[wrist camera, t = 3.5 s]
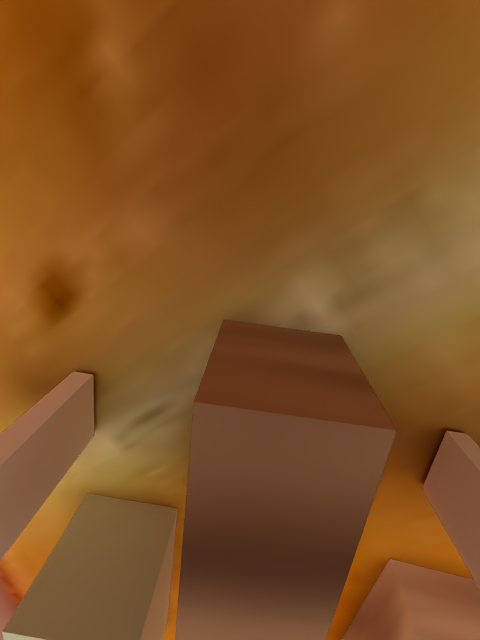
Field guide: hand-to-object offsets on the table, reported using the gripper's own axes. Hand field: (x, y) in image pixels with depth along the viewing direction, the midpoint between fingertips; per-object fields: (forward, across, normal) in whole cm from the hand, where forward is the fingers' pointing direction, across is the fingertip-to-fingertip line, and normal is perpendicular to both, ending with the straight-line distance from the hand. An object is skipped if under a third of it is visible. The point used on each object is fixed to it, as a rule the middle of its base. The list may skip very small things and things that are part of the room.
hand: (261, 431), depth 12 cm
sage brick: (0, -5, -9) cm, 10 cm away
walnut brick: (0, 0, 0) cm, 0 cm away
